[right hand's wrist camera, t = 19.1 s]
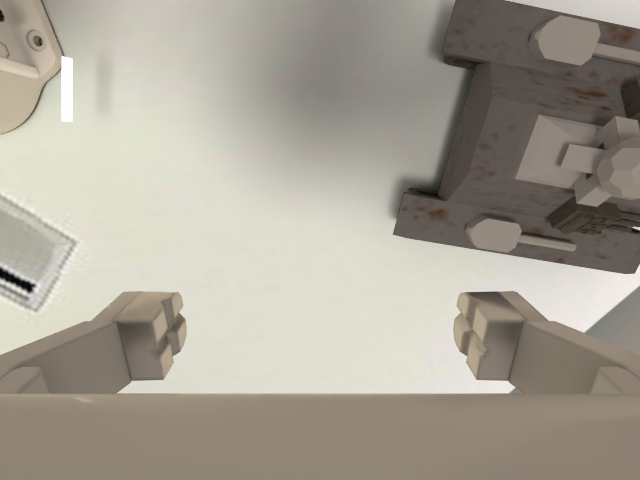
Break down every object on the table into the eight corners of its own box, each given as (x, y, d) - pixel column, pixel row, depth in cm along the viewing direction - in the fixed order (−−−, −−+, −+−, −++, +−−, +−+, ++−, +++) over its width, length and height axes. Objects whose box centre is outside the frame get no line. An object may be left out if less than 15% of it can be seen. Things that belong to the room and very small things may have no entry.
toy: (383, 219, 38) (421, 283, 24) (435, 10, 31) (533, -76, 17) (599, 255, 39) (754, 335, 25) (694, 63, 32) (981, 26, 18)
